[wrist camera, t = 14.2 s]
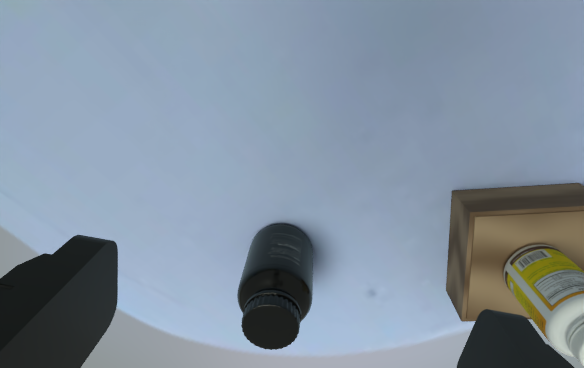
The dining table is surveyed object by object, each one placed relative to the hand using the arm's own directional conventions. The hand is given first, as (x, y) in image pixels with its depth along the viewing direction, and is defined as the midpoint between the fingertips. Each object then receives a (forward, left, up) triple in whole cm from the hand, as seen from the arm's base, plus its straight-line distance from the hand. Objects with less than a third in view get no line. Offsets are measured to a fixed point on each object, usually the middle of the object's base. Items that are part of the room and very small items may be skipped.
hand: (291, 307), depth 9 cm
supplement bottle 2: (+11, +23, -25) cm, 36 cm away
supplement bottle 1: (+17, 0, -30) cm, 35 cm away
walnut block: (+11, +23, -30) cm, 39 cm away
